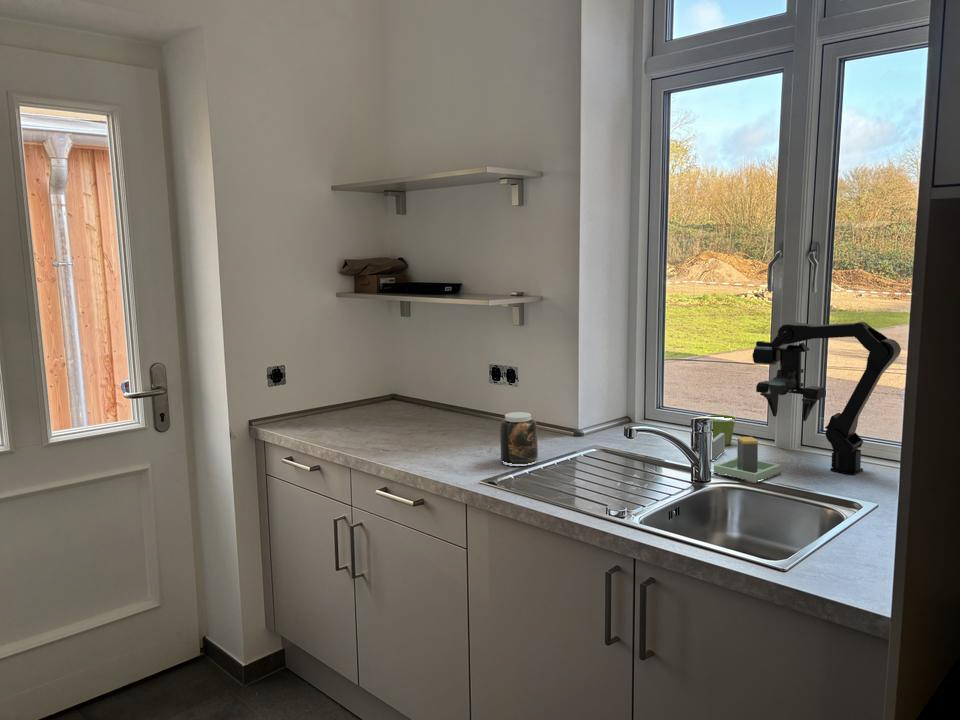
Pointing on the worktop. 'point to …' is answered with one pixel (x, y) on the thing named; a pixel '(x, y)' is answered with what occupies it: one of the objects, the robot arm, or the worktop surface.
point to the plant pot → (723, 427)
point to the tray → (762, 472)
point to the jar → (518, 438)
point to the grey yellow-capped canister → (747, 454)
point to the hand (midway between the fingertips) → (789, 418)
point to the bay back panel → (718, 445)
